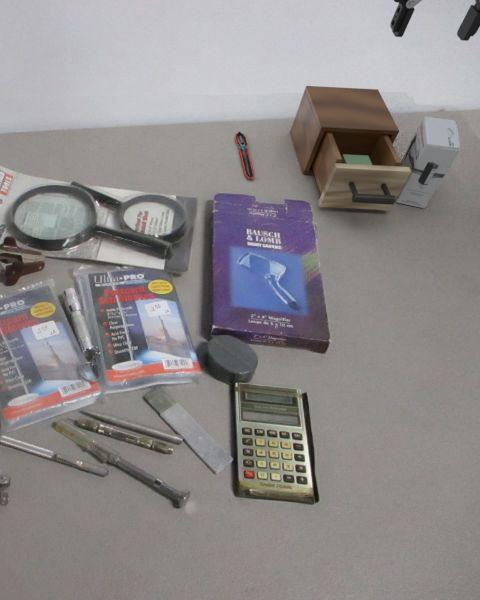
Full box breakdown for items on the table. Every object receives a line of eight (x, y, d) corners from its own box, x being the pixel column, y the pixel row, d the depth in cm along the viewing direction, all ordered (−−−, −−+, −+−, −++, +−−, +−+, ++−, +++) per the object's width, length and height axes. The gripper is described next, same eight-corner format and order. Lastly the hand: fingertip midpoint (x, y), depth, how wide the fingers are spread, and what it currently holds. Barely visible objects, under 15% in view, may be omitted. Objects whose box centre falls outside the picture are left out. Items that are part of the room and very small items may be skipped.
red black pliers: (244, 180, 101) (245, 177, 101) (233, 133, 110) (234, 130, 110) (256, 181, 101) (257, 178, 101) (243, 133, 111) (244, 130, 110)
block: (358, 175, 100) (368, 155, 97) (365, 192, 98) (375, 171, 94) (333, 174, 100) (342, 154, 97) (339, 190, 98) (349, 170, 94)
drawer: (397, 228, 94) (420, 189, 88) (325, 224, 94) (343, 185, 88) (370, 166, 104) (389, 128, 98) (305, 163, 104) (320, 124, 98)
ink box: (392, 172, 104) (424, 113, 95) (422, 178, 103) (457, 119, 94) (394, 203, 99) (427, 143, 90) (425, 209, 98) (462, 149, 89)
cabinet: (375, 178, 103) (399, 130, 96) (302, 174, 103) (321, 126, 96) (356, 136, 111) (378, 89, 104) (289, 132, 111) (306, 85, 104)
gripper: (447, -102, 63) (382, 47, 75) (582, -95, 63) (495, 53, 75) (423, -123, 67) (366, 20, 80) (549, -117, 67) (473, 25, 80)
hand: (429, 36), depth 77 cm, fingers open, 8 cm apart
